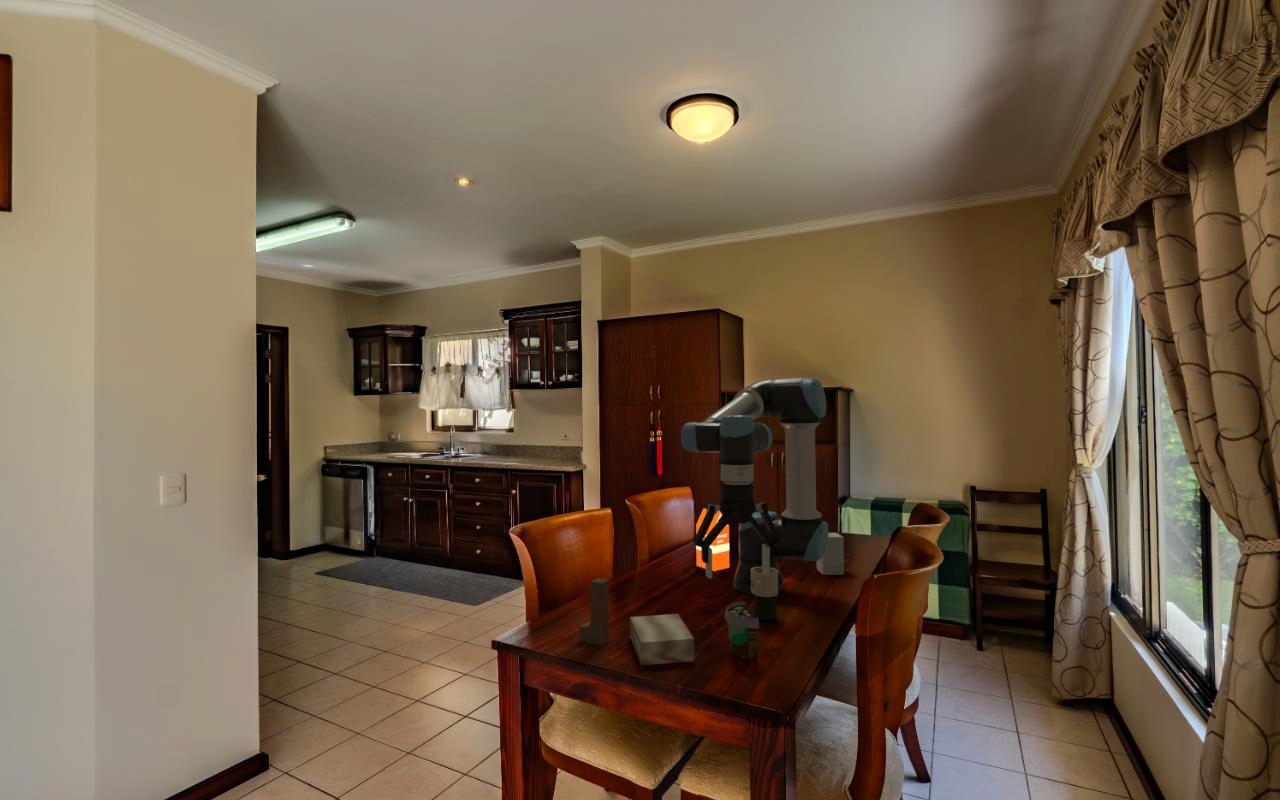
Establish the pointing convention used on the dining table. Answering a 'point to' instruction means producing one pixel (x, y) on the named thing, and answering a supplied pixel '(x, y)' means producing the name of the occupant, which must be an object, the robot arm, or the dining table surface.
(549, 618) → the dining table surface
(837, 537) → the supplement box
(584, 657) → the dining table surface
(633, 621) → the birch block
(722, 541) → the orange juice
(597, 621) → the wooden block
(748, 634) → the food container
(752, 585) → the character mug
